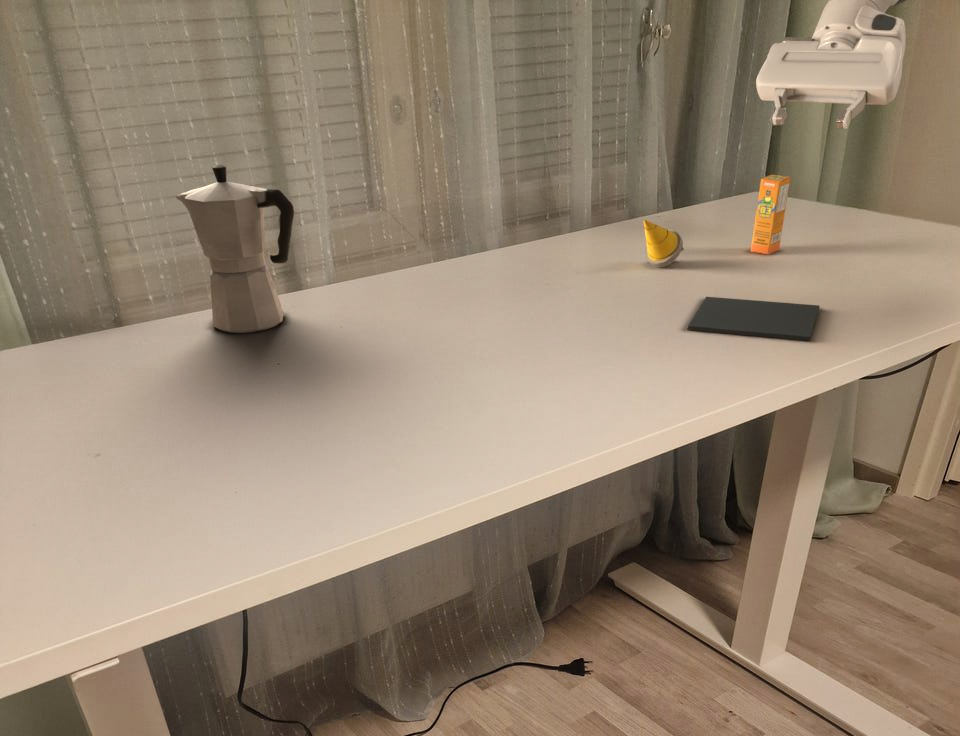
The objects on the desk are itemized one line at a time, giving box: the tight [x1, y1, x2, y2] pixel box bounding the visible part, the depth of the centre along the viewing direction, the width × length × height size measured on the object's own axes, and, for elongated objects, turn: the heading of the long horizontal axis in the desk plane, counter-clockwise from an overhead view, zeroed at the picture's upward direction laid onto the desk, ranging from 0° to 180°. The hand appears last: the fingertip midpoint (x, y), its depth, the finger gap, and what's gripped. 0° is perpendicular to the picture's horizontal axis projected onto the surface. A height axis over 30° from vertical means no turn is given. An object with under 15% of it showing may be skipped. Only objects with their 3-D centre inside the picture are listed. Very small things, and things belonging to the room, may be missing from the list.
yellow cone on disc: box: [643, 219, 685, 268], centre depth 122 cm, size 5×5×10 cm
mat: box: [687, 296, 820, 342], centre depth 105 cm, size 14×12×1 cm
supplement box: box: [750, 174, 791, 256], centre depth 126 cm, size 3×3×10 cm
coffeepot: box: [175, 163, 295, 334], centre depth 105 cm, size 15×9×18 cm, turn 72°
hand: (808, 124), depth 127 cm, fingers open, 8 cm apart
